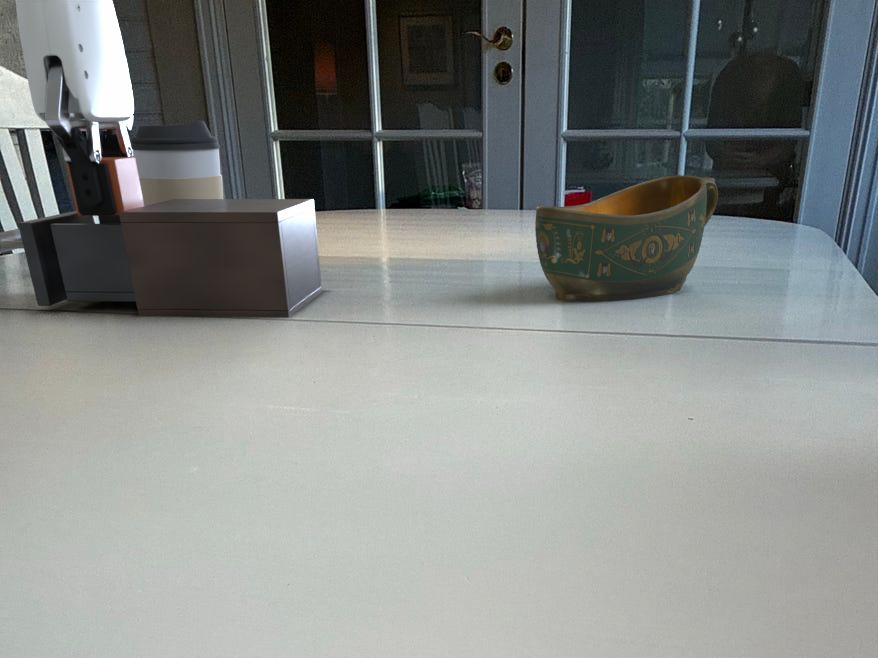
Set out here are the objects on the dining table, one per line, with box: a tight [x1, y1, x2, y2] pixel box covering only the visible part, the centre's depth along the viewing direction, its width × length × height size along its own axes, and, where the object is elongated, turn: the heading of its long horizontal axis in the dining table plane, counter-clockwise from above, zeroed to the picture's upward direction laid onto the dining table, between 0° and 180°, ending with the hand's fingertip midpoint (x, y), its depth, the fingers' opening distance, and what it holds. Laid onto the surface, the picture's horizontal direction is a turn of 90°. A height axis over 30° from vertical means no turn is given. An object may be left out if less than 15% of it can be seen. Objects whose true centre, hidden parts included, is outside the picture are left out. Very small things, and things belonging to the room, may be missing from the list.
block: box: [65, 156, 145, 217], centre depth 80 cm, size 4×4×4 cm
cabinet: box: [119, 198, 323, 318], centre depth 82 cm, size 14×13×9 cm
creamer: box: [534, 174, 719, 303], centre depth 86 cm, size 13×20×10 cm, turn 98°
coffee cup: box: [130, 120, 224, 206], centre depth 96 cm, size 9×9×15 cm
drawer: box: [0, 210, 136, 307], centre depth 83 cm, size 18×11×7 cm, turn 85°
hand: (110, 209), depth 81 cm, fingers closed on block, 4 cm apart
